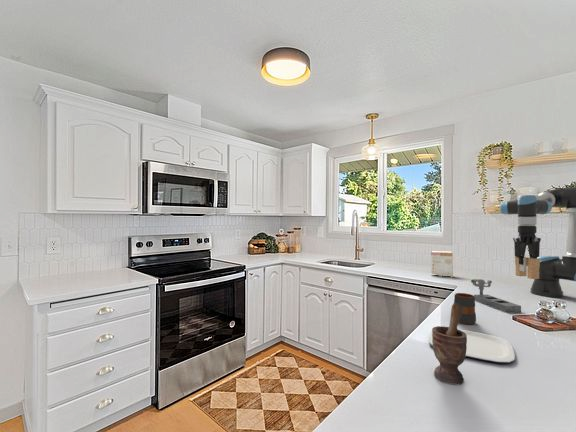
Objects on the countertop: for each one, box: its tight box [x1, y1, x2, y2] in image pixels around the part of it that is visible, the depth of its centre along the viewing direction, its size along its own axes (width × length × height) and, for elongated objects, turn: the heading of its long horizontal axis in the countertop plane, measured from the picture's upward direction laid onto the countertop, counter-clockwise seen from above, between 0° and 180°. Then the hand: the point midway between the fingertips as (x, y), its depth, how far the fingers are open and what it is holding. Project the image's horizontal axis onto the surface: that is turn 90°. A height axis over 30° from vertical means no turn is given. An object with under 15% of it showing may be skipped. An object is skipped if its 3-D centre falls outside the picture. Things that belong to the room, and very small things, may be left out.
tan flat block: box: [514, 256, 540, 280], centre depth 152 cm, size 4×10×10 cm, turn 5°
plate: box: [428, 328, 516, 364], centre depth 106 cm, size 25×25×2 cm
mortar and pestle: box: [431, 302, 467, 385], centre depth 86 cm, size 12×9×20 cm
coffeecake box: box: [430, 250, 454, 276], centre depth 238 cm, size 15×7×20 cm, turn 58°
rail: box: [473, 294, 522, 313], centre depth 156 cm, size 8×22×3 cm, turn 5°
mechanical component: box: [470, 278, 492, 295], centre depth 173 cm, size 3×10×10 cm, turn 79°
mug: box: [453, 292, 477, 326], centre depth 132 cm, size 9×12×12 cm
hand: (526, 270), depth 152 cm, fingers closed on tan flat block, 4 cm apart
